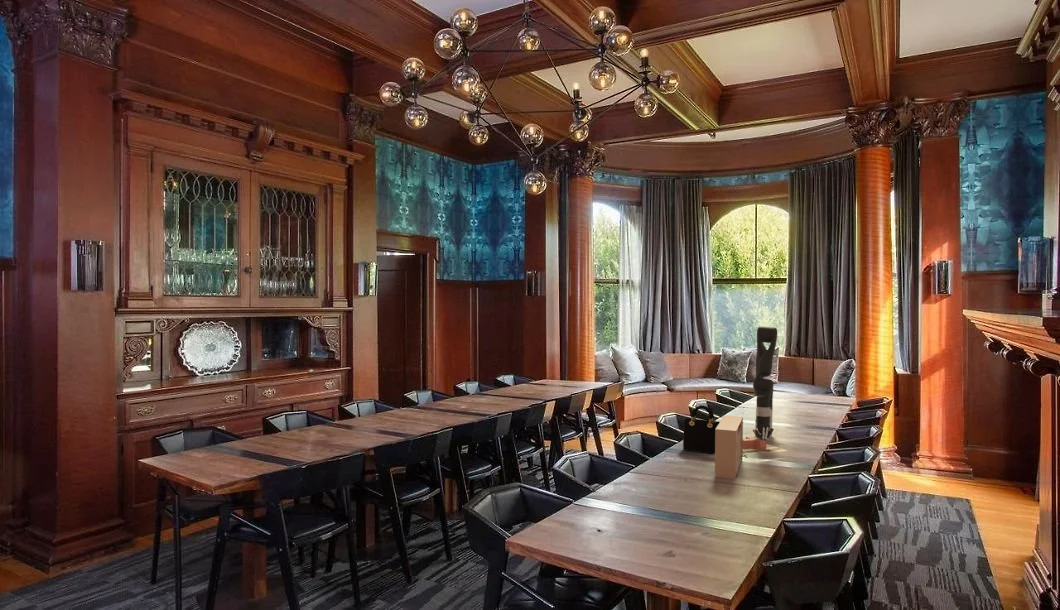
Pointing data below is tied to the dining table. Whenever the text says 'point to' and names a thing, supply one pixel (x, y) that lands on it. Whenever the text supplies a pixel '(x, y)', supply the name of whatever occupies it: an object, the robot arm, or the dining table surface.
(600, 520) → the dining table surface
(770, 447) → the board
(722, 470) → the box
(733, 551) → the dining table surface
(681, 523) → the dining table surface
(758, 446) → the t block
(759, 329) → the robot arm
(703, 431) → the handbag
